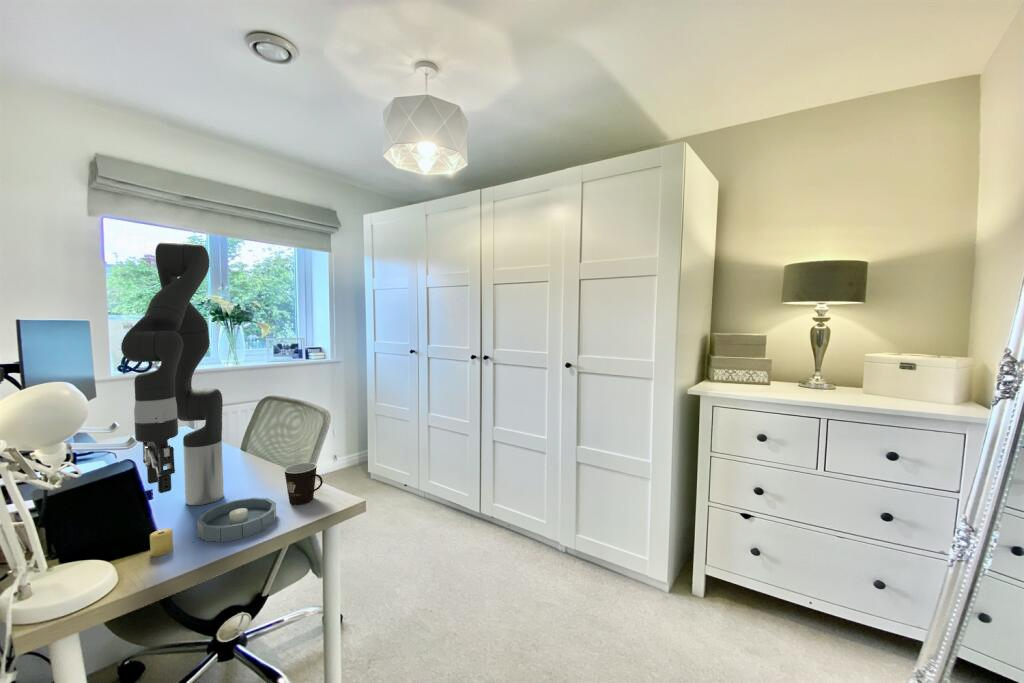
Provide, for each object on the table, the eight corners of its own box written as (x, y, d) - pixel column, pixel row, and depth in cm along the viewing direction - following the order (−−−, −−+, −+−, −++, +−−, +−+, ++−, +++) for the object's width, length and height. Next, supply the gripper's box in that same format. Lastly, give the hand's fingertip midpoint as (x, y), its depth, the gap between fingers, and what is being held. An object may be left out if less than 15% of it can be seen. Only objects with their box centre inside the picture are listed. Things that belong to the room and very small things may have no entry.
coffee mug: (281, 500, 125) (280, 467, 124) (311, 491, 131) (310, 460, 130) (294, 513, 117) (293, 478, 116) (325, 504, 123) (325, 470, 122)
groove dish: (189, 527, 109) (189, 514, 108) (259, 504, 122) (259, 492, 122) (213, 549, 99) (212, 534, 98) (286, 521, 112) (286, 509, 112)
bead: (148, 552, 97) (147, 533, 97) (170, 545, 100) (169, 526, 100) (153, 558, 95) (152, 539, 94) (175, 550, 98) (174, 531, 98)
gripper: (127, 416, 97) (130, 484, 98) (143, 426, 88) (146, 500, 89) (167, 410, 103) (170, 475, 104) (186, 419, 94) (189, 489, 95)
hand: (159, 486), depth 97 cm, fingers open, 8 cm apart
